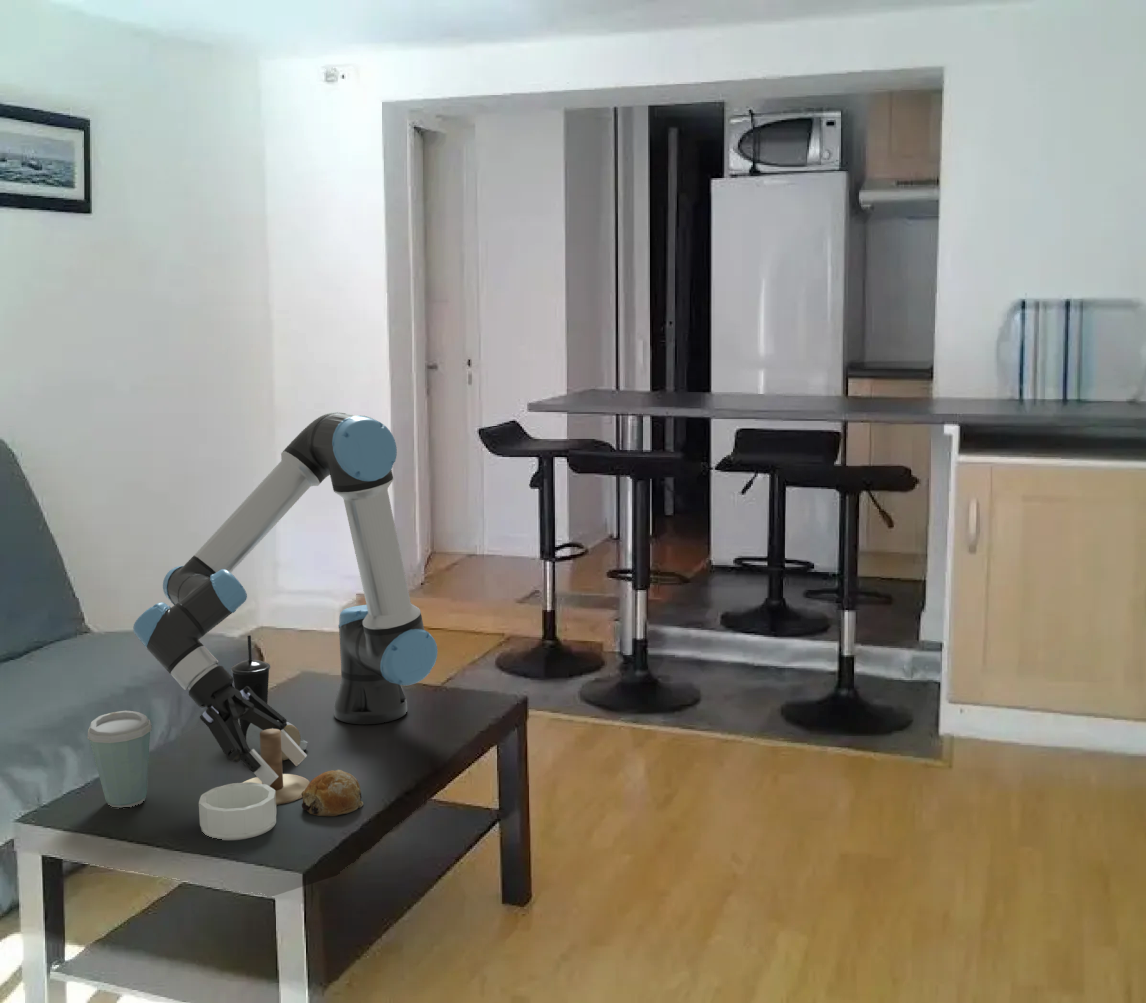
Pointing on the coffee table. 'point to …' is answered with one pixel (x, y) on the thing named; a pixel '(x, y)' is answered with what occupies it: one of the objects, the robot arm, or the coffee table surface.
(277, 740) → the lid
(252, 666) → the drinking cup
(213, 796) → the bowl
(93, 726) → the disposable coffee cup
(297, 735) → the ceramic mug
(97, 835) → the coffee table surface
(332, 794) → the bread roll
